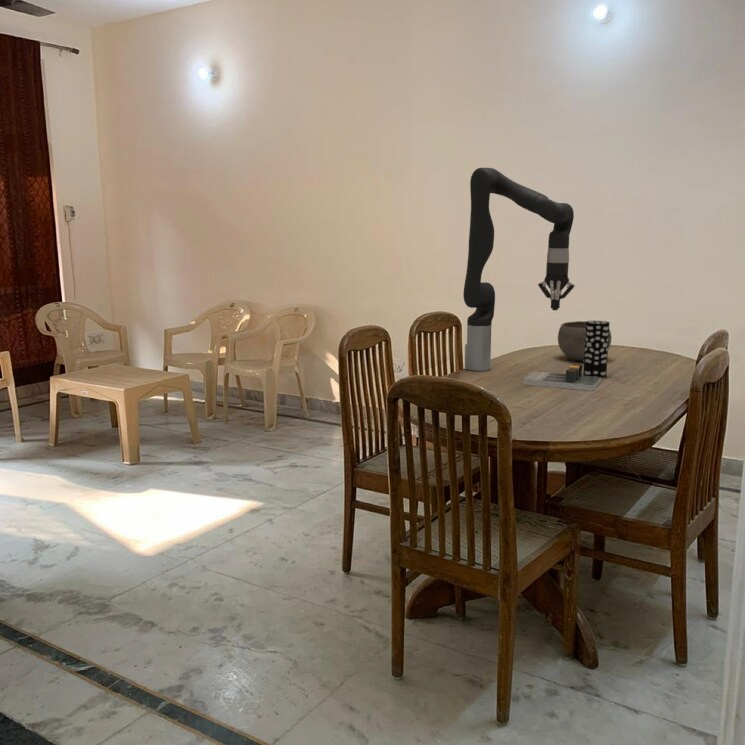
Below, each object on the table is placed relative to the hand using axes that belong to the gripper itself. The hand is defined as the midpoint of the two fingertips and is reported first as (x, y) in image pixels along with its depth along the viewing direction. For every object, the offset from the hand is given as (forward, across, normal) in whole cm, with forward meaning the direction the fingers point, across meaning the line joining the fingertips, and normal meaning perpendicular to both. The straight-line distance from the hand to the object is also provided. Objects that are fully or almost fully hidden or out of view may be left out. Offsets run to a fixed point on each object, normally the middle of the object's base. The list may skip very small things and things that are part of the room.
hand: (555, 310), depth 273 cm
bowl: (+26, +3, +42) cm, 50 cm away
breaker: (+23, +9, -6) cm, 25 cm away
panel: (+25, +5, -6) cm, 26 cm away
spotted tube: (+25, +13, +12) cm, 31 cm away
